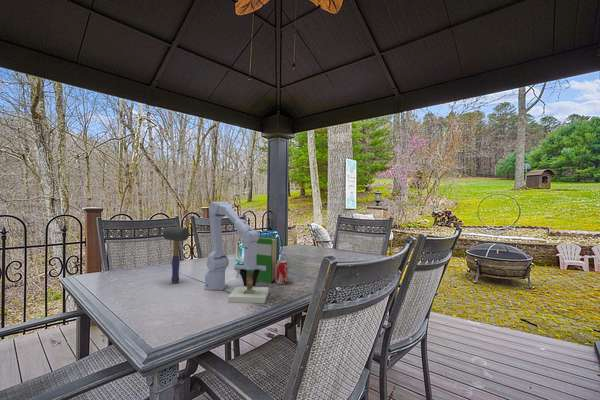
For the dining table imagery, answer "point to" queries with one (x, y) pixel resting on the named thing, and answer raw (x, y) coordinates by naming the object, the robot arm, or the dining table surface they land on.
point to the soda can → (281, 272)
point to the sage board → (248, 295)
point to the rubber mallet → (175, 247)
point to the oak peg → (249, 281)
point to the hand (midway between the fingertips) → (249, 285)
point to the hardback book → (266, 258)
